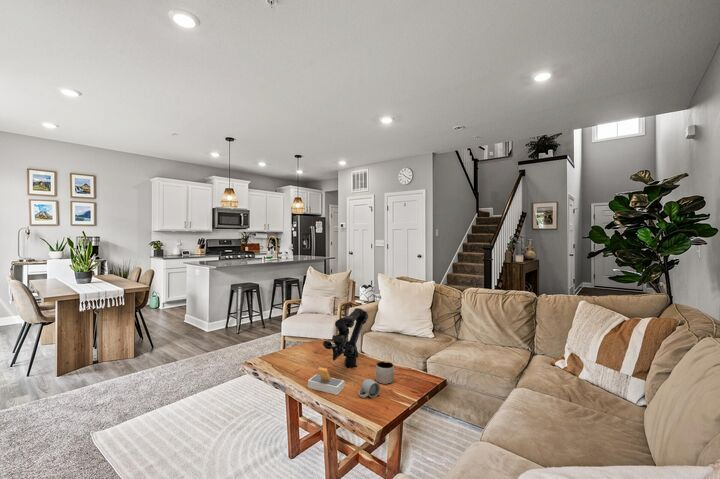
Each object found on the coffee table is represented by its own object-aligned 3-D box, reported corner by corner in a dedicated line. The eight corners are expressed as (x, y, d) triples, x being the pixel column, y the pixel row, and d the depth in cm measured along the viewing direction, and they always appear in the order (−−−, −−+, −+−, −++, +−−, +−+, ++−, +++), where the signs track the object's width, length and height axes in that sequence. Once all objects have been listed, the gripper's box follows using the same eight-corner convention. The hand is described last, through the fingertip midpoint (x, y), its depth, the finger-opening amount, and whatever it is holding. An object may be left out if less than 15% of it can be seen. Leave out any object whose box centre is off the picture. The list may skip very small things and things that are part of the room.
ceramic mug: (370, 389, 184) (371, 375, 183) (380, 395, 177) (380, 381, 177) (355, 394, 178) (355, 380, 177) (363, 401, 171) (364, 386, 171)
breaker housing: (315, 381, 191) (316, 373, 191) (344, 387, 184) (344, 380, 184) (307, 387, 182) (308, 380, 182) (337, 394, 176) (337, 386, 176)
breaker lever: (322, 376, 184) (319, 366, 180) (330, 378, 182) (327, 368, 178) (321, 379, 183) (318, 369, 179) (329, 381, 181) (326, 371, 177)
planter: (378, 385, 189) (379, 369, 188) (372, 377, 199) (373, 361, 199) (396, 384, 192) (397, 367, 191) (389, 376, 202) (390, 360, 202)
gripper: (324, 327, 199) (315, 351, 189) (353, 331, 192) (344, 356, 182) (330, 336, 206) (321, 360, 196) (357, 341, 200) (349, 365, 189)
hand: (333, 360), depth 191 cm, fingers closed
